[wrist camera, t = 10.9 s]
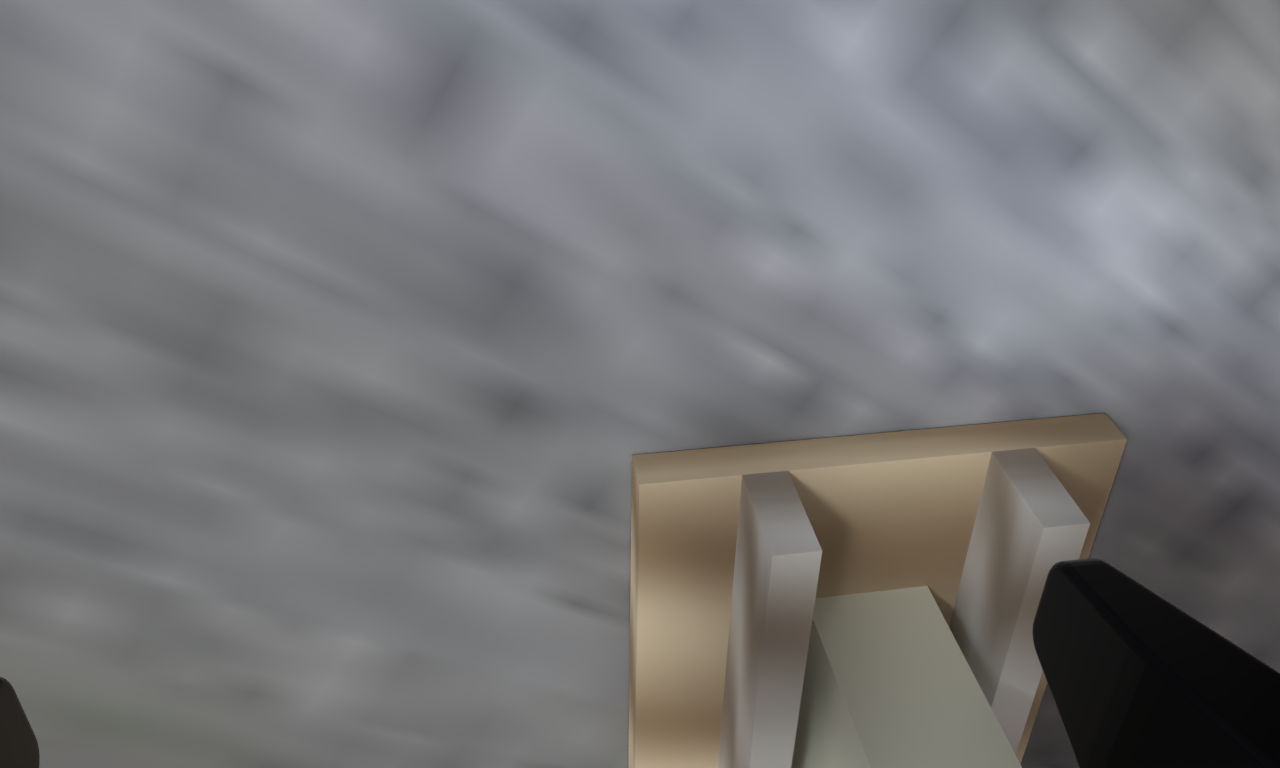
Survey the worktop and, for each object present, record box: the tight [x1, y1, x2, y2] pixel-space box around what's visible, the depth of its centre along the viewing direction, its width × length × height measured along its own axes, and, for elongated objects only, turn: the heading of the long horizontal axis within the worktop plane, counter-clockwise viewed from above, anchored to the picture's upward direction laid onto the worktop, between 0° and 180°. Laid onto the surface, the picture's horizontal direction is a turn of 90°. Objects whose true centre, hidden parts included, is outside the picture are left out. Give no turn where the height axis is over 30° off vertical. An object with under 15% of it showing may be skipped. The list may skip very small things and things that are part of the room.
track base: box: [628, 413, 1127, 768], centre depth 28 cm, size 17×11×4 cm, turn 179°
